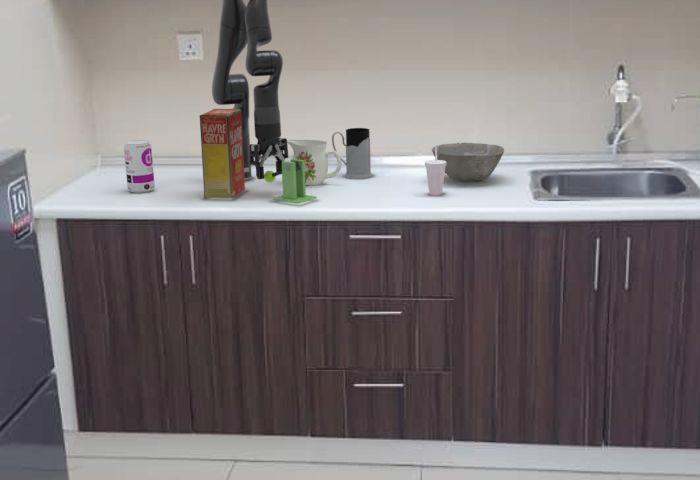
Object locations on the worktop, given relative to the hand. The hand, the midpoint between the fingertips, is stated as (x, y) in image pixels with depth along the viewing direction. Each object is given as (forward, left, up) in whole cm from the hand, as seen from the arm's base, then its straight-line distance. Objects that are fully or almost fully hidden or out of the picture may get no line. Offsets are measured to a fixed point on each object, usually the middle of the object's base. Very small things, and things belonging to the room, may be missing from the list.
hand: (270, 176), depth 289 cm
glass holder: (+1, +38, -7) cm, 39 cm away
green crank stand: (+9, 0, -6) cm, 11 cm away
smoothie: (+39, +29, -7) cm, 49 cm away
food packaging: (-14, -5, -7) cm, 16 cm away
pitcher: (0, +20, -7) cm, 21 cm away
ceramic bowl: (+37, +51, -7) cm, 63 cm away
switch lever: (+5, 0, 0) cm, 5 cm away
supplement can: (-41, -14, -7) cm, 44 cm away
